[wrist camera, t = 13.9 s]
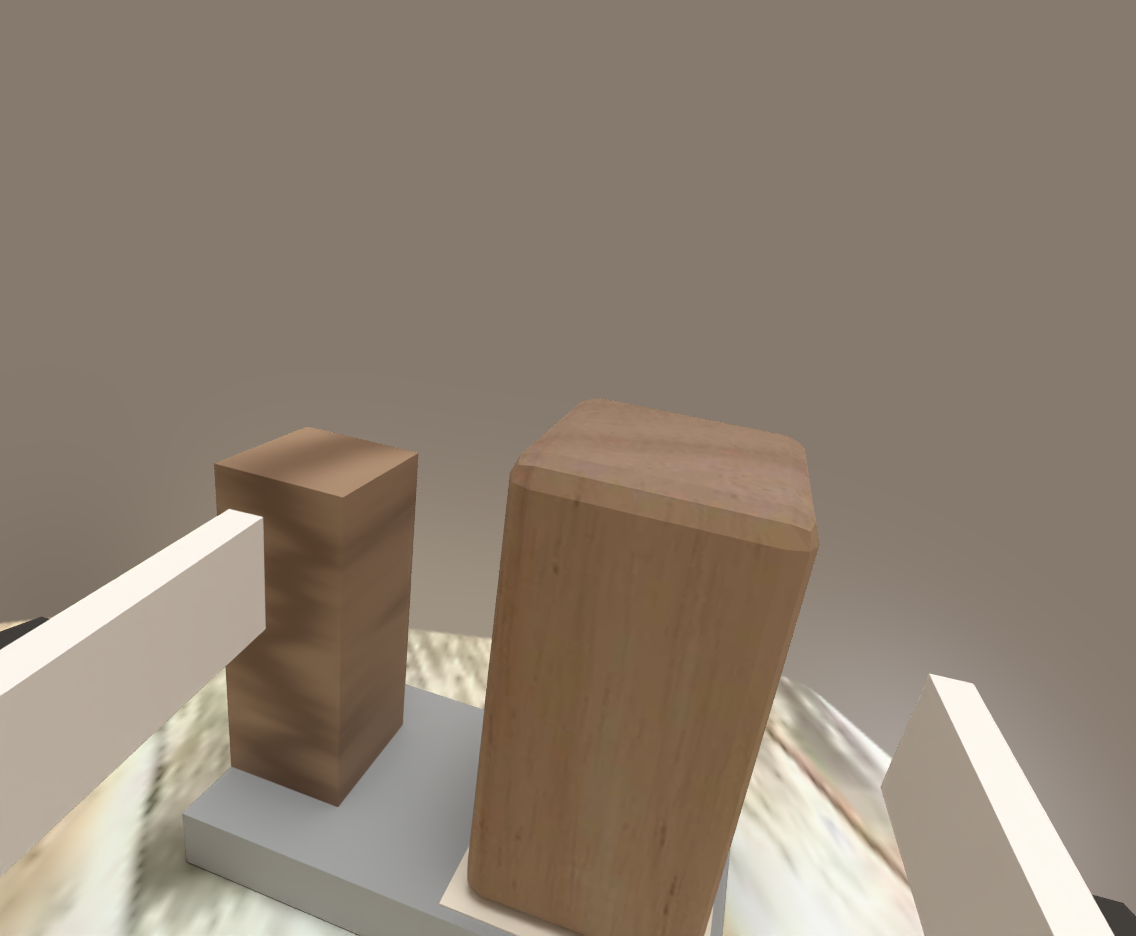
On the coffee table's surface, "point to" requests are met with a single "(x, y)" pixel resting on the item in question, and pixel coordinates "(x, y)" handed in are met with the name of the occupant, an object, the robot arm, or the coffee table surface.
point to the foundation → (373, 837)
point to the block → (634, 663)
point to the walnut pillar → (323, 608)
